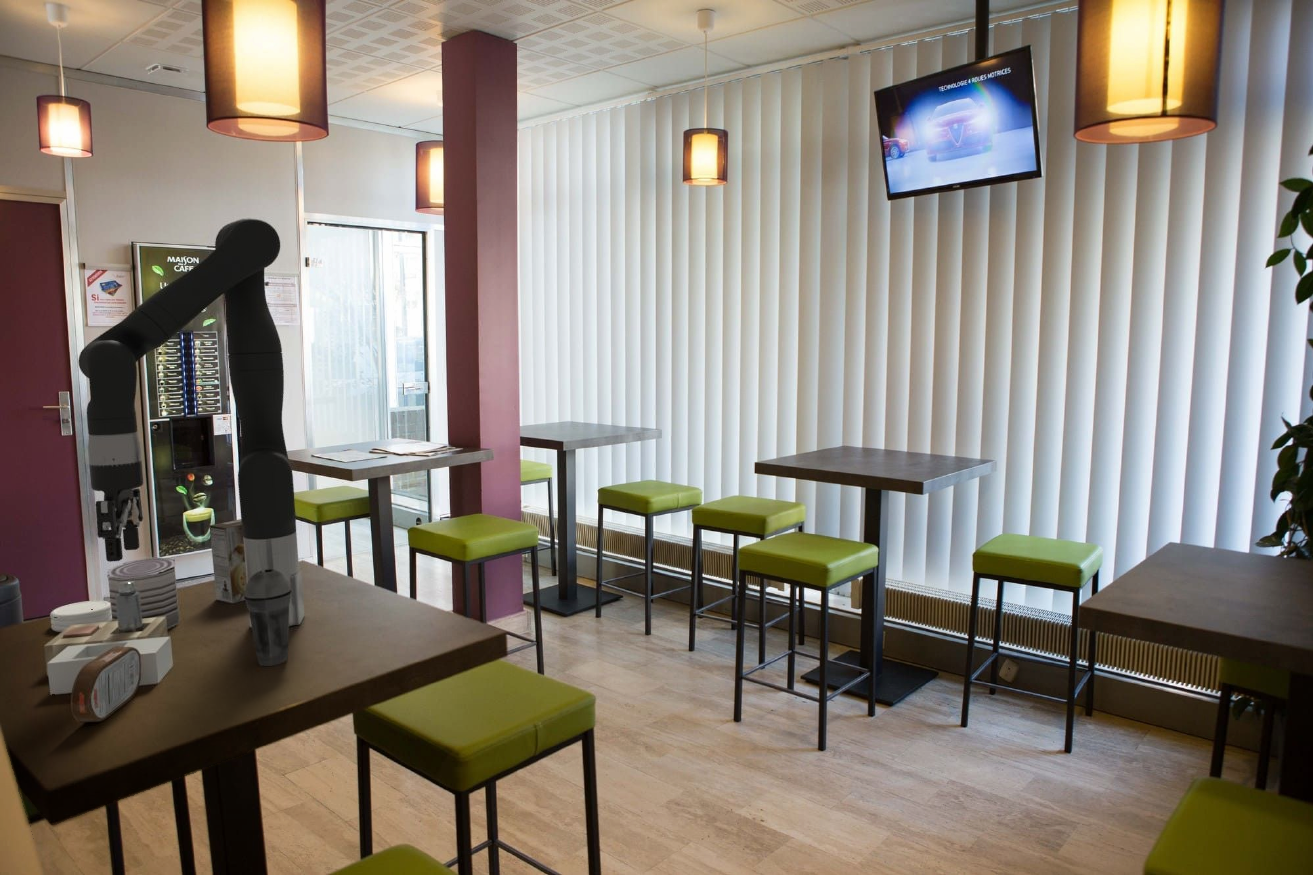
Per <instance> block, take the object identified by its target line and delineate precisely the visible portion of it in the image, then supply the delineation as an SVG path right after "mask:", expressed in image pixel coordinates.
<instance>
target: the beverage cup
mask: <svg viewBox="0 0 1313 875" xmlns="http://www.w3.org/2000/svg"><path fill="white" fill-rule="evenodd" d="M257 548H258V554H259V560H260V566H261V571H259V572H257V573H256V574H254V575H253V576H252V577H251V578H250V579H249V581H248V583H247V585H246V588H245V595H244V599H246V600H245V604H246V608H247V610H248V615H249V614H250V619H249V621H250V620H251V626H252V628H251V632H252V636H253V642H254V648H255V654H256V656H257V661H258V663H257V664H258V665H259V666H263V667H269V666H270V667H272V666H278V665H281V664H283V663H285V662H287V661H288V656H289V637H290V636H289V635H290V634H289V627H290V626H289V604H290V599H291V592H292V591H291V588H290V585H289V582H288V580H287V578H286V577H285V576H284V575H283V574H282V573H280V572H279V571H276V570H273V569H266V570H265V568H264V563H263V557H262V551H261V545H258V546H257ZM251 626H250V627H251Z"/></svg>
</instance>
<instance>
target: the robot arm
mask: <svg viewBox="0 0 1313 875" xmlns="http://www.w3.org/2000/svg"><path fill="white" fill-rule="evenodd" d="M280 251H281V240H280V236H279V234H278V232H277V230H276V228H275V227H274V226H272V225H271V224H270V223H268V222H267V221H265V220H262V219H261V218H260V219H259V218H255V217H254V218H253V217H252V218H251V217H247V218H246V217H245V218H241V219H238V220H235V221H232V222H230V223H226V224H225V225H224V226H223V227H222V228H221V229H220V230H219V231H218V232H217V234H216V237H215V242H214V250H213V251H212V252H211V253H210V254H209V255H208V256H207V257H206V258H204V259H203V260H202V261H201V262H199V263H198V264H197V265H195V266H193V267H192V268H190V270H188V271H187V272H185V273H183V274H182V275H181V276H179V277H177V278H176V279H174V280H173V281H171V282H169V283H168V284H167V285H165V286H164V287H162V288H161V289H159V290H158V291H156V292H155V293H154V294H152V295H151V296H149V298H147V299H145V301H143V302H142V303H141V304H140V305H138V306H137V307H136V308H135V309H133V310H132V312H130V313H129V314H128V315H127V316H126V317H124V319H122V320H121V321H120V322H118V323H117V324H115V325H114V326H112V327H110V328H109V329H107V330H106V331H104V332H103V333H102V334H100V335H99V336H97V337H96V338H94V339H93V340H92V341H91V342H89V343H88V344H87V345H85V346H84V347H83V349H82V350H81V352H80V353H79V357H78V366H79V370H80V371H81V373H82V375H84V376H85V377H86V378H87V379H88V381H89V396H90V400H89V402H88V403H87V405H86V422H87V424H86V425H87V433H88V442H87V443H88V444H87V454H88V466H89V478H90V486H91V487H90V488H91V489H92V490H93V491H94V492H95V491H96V492H102V493H103V494H104V495H103V500H97V501H95V505H94V506H95V513H96V514H95V516H96V518H95V519H96V530H97V531H96V533H97V537H98V538H99V539H100V538H101V539H102V540H104V546H105V558H106V561H107V562H120V561H121V560H122V559H123V557H124V556H123V548H124V550H126V551H134V550H135V551H136V550H139V548H140V538H139V536H140V534H139V527H140V526H141V522H143V519H144V517H143V507H142V500H141V490H140V487H142V486H143V485H144V473H143V462H142V459H143V458H142V452H141V451H142V450H141V449H142V448H141V443H140V439H139V435H138V434H139V433H138V423H137V412H136V408H135V407H136V405H135V404H136V403H135V402H136V393H137V383H138V382H137V381H138V380H137V379H138V378H137V377H138V372H137V371H138V369H137V368H138V367H137V362H139V360H140V359H142V358H143V357H144V356H145V355H147V354H148V353H149V352H151V351H153V350H156V349H158V348H160V347H161V346H164V344H166V343H167V342H168V341H169V340H171V339H172V338H173V337H174V336H176V335H177V334H178V333H179V332H180V331H181V330H182V329H184V328H185V327H186V326H187V325H188V324H190V323H191V321H193V320H194V319H195V318H196V317H197V316H199V315H200V314H201V313H202V312H203V311H205V310H206V309H207V308H208V307H209V306H210V305H211V304H212V303H213V302H214V301H216V300H217V299H218V298H220V297H221V296H222V295H223V297H224V311H225V313H224V315H225V317H224V318H225V331H226V347H227V361H228V374H229V380H230V386H231V390H232V391H231V392H232V395H233V399H234V403H235V407H236V411H237V414H238V419H239V426H240V459H239V460H240V461H239V467H238V472H237V485H238V497H239V498H238V499H239V508H240V519H241V522H242V529H243V540H244V553H245V566H246V579H247V583H248V581H249V579H250V578H251V577H252V576H253V575H254V574H256V573H257V572H259V571H261V566H260V560H259V554H258V548H257V546H258V545H261V551H262V557H263V563H264V568H265V570H266V569H273V570H276V571H279V572H280V573H282V574H283V575H284V576H285V577H286V578H287V580H288V582H289V585H290V588H291V591H292V592H291V599H290V604H289V627H292V626H298V625H301V623H302V622H303V619H304V618H305V603H304V601H305V600H304V590H303V589H304V588H303V575H302V574H303V573H302V568H301V567H300V565H299V564H300V563H299V550H298V537H297V535H298V534H297V522H296V521H297V517H296V515H297V514H296V505H295V504H296V503H295V488H294V476H293V469H292V465H291V461H290V459H289V455H288V451H287V450H288V449H287V446H286V441H285V436H284V434H285V433H284V429H283V428H284V427H283V407H284V394H285V393H284V390H285V388H284V387H285V378H284V377H285V376H284V360H283V358H284V357H283V350H282V349H283V347H282V343H281V339H280V335H279V332H278V329H277V327H276V324H275V322H274V319H273V316H272V314H271V311H270V308H269V306H268V303H267V297H266V285H265V268H268V267H270V265H272V264H273V263H274V262H275V261H276V259H277V258H278V256H279V254H280ZM121 537H122V538H121ZM122 539H123V543H122ZM122 544H123V546H122ZM248 618H249V627H250V628H251V629H252V626H251V620H250V614H249V613H248Z"/></svg>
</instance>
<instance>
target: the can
mask: <svg viewBox="0 0 1313 875" xmlns="http://www.w3.org/2000/svg"><path fill="white" fill-rule="evenodd" d="M106 577H107V580H108V589H109V600H110V601H109V603H111V613H112V620H111V621H118V619H117V608H116V598H115V596H116V595H117V594H119V585H118V584H119V583H121V582H125V581H135V590H136V591H138V592H140V599H141V610H142V619H144V618H155V617H166V621H167V630H170V629H172V628H174V627H176V626H179V624H180V611H179V610H180V609H179V600H178V599H179V597H178V588H177V576H176V561H175V558H164V557H150V558H149V557H148V558H143V559H136V560H131V561H126V562H124V563H122V564H119V565H116V566H113V567H111V568H109V569H107V576H106ZM175 625H176V626H175ZM171 627H172V628H171Z"/></svg>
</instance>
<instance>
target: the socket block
mask: <svg viewBox="0 0 1313 875" xmlns="http://www.w3.org/2000/svg"><path fill="white" fill-rule="evenodd" d="M142 621H143V631H141V632H131V633H120V634H119V629H118V621H112V620H111V621H110V622H100V623H89V624H78V625H71V626H69V627H68V628H67V629H65V630H64V631H63V632H59V634H57V635H56V636H55V637H54V638H52V639H51V640H49V641H48V642H47V643H46V644H45V645H43V648H44V649H43V650H44V657H45V658H44V659H45V667H46V668H45V669H46V676H48V667H47V663H48V662H50V661H51V660H52V659H53V658H54V657H56V656H57V655H58V654H59V653H61V652H62V651H63V650H64V649H65V648H67V647H68V646H76V645H86V644H97V643H107V642H118V641H128V640H139V639H149V638H159V637H169V634H168V629H167V621H166V617H155V618H144V619H142ZM97 625H99V630H98V631H97V632H96V633H94V634H93V635H92V636H85V637H74V638H63V635H64V634H65V633H66V632H68V631H69V630H70V629H72V628H75V627H86V626H97ZM48 677H49V676H48Z"/></svg>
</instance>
